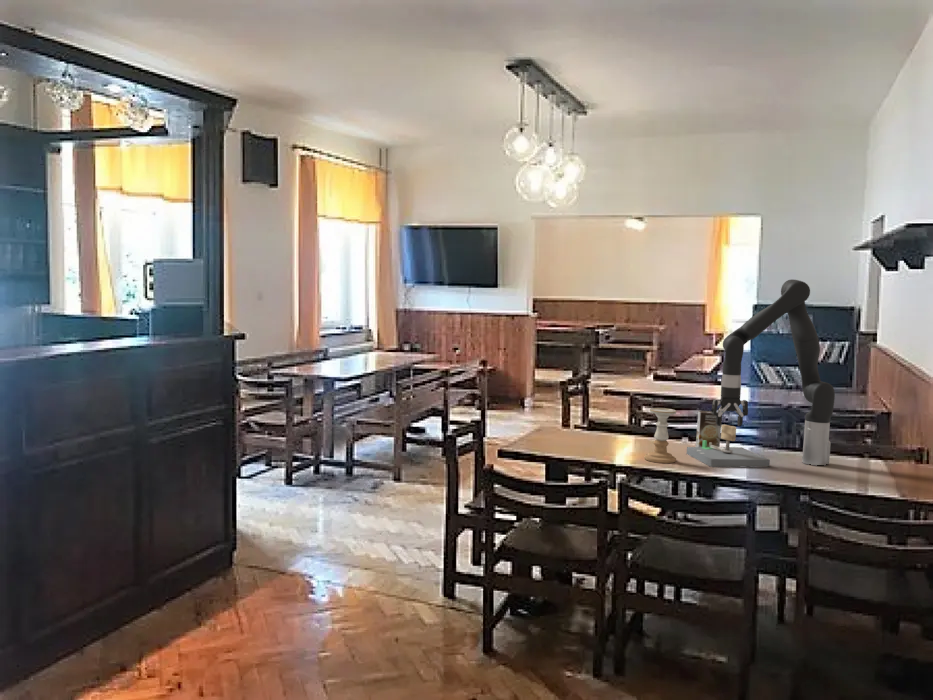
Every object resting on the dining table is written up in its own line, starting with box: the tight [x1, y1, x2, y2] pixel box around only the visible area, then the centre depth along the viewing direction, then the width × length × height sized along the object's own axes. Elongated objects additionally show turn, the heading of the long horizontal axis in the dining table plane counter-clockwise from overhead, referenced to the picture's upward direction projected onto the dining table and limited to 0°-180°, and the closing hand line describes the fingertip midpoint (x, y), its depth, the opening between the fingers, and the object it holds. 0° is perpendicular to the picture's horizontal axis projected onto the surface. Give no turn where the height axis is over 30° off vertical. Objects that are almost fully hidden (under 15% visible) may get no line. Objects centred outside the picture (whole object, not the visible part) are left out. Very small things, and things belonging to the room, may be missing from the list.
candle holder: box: [644, 407, 677, 464], centre depth 342 cm, size 12×12×20 cm
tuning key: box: [709, 424, 737, 453], centre depth 349 cm, size 13×4×11 cm, turn 27°
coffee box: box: [695, 410, 723, 447], centre depth 369 cm, size 9×6×16 cm
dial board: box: [686, 440, 771, 468], centre depth 347 cm, size 24×24×6 cm
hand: (729, 425), depth 346 cm, fingers open, 8 cm apart
